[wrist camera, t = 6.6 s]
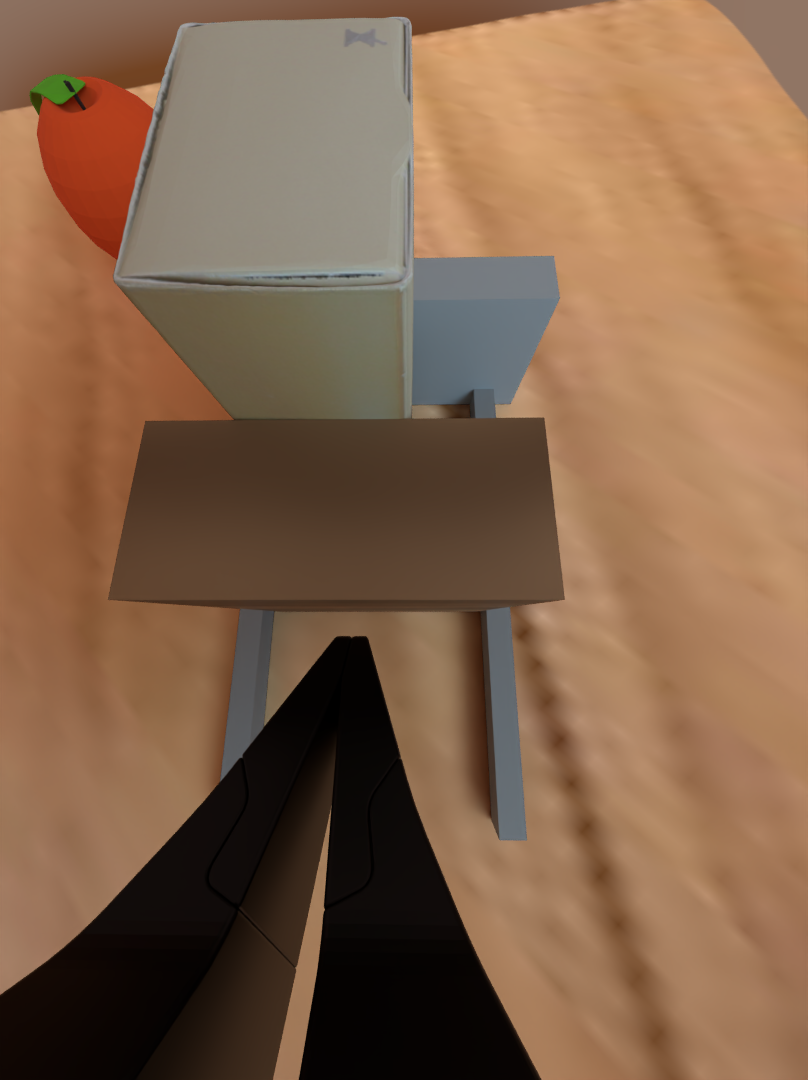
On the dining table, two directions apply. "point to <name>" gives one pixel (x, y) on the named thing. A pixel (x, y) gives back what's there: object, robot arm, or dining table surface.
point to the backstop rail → (482, 381)
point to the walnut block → (341, 516)
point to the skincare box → (282, 216)
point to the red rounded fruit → (92, 150)
